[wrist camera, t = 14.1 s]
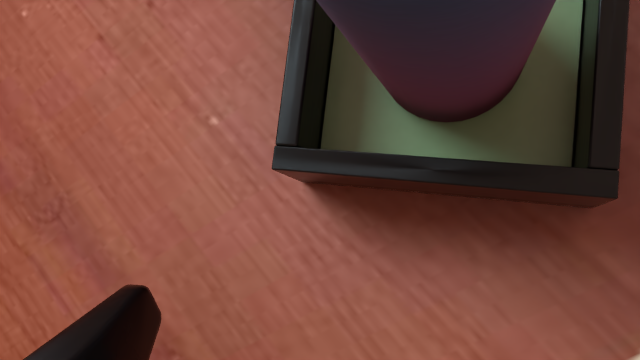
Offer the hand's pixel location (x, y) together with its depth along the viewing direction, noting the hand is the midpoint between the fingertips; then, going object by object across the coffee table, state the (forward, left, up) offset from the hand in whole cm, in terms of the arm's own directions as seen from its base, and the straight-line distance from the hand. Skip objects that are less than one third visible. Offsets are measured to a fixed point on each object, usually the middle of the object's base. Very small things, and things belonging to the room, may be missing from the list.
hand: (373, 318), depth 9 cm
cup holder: (+7, -5, -10) cm, 13 cm away
